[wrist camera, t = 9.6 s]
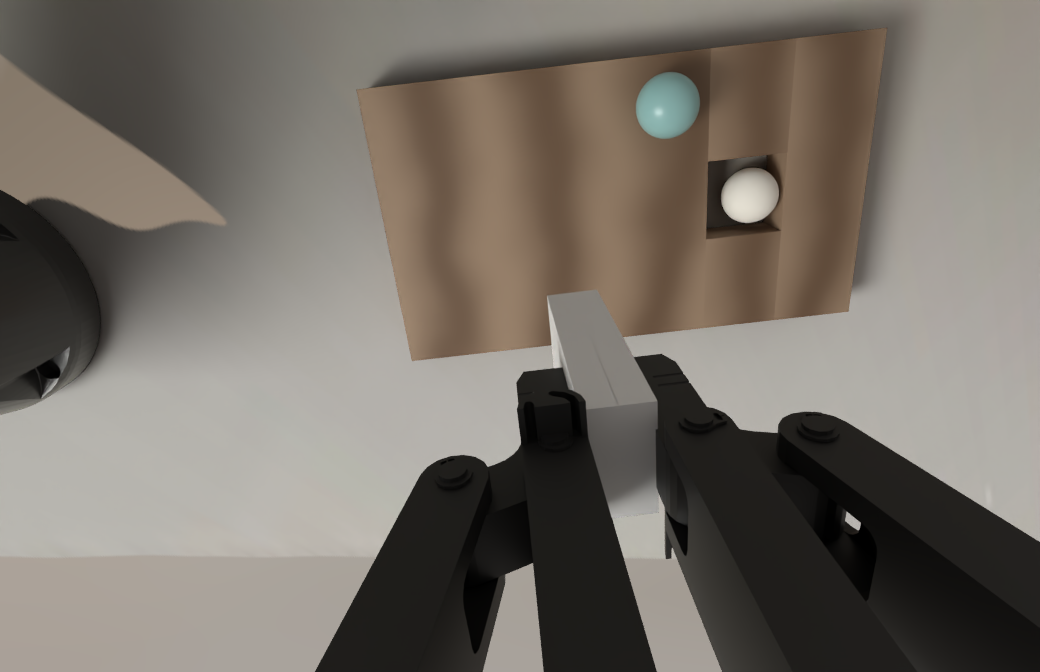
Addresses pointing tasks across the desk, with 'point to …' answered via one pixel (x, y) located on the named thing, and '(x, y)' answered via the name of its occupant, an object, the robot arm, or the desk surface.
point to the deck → (622, 192)
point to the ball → (749, 195)
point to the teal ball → (667, 105)
